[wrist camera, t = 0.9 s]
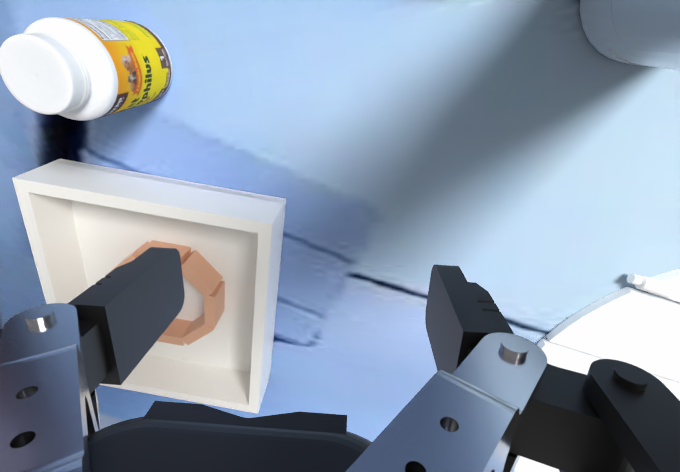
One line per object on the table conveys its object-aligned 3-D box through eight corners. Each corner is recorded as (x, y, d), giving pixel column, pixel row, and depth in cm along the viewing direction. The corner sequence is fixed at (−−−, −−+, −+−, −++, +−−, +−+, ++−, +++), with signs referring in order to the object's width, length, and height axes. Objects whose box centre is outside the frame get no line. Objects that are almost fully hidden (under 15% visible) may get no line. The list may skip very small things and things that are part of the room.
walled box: (60, 158, 34) (12, 177, 29) (286, 198, 33) (272, 224, 29) (98, 343, 44) (66, 378, 40) (270, 375, 44) (257, 413, 39)
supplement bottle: (162, 115, 31) (72, 149, 22) (96, 74, 30) (-27, 92, 21) (187, 50, 28) (98, 59, 20) (116, 3, 27) (-13, -11, 18)
